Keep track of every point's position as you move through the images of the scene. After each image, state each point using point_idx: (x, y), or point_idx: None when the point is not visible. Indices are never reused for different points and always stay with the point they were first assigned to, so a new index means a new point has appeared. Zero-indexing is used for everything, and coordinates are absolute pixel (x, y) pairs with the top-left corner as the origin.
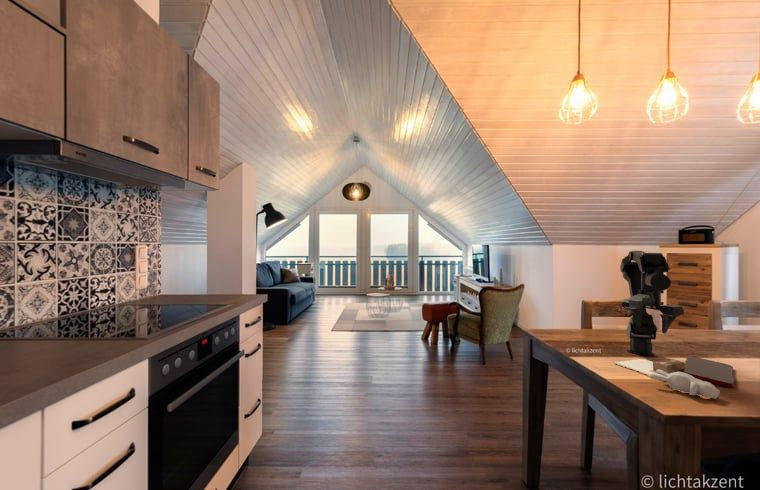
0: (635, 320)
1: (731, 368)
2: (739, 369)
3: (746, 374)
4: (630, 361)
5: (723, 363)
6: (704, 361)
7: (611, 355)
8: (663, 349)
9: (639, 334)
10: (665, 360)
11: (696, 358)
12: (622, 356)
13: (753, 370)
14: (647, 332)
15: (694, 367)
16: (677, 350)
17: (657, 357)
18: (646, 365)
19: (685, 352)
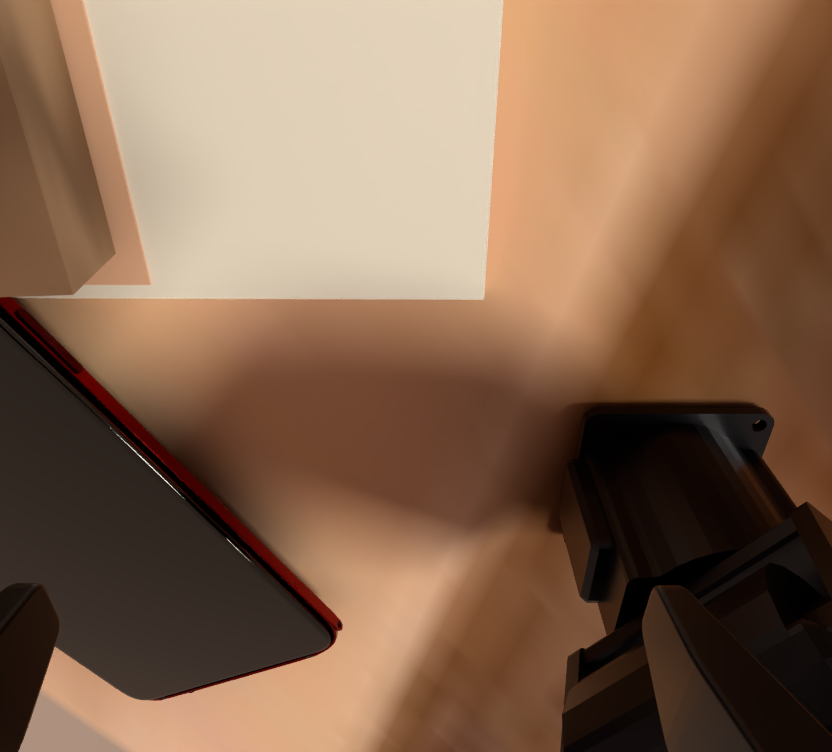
0: (794, 744)
1: (61, 650)
2: (130, 700)
3: None
4: (463, 16)
5: (171, 695)
6: (202, 629)
7: (802, 80)
8: None
9: (708, 601)
10: (6, 172)
11: (270, 639)
12: (693, 192)
13: (108, 736)
14: (619, 676)
15: (6, 411)
16: (559, 733)
17: (500, 495)
18: (268, 76)
19: (505, 735)
